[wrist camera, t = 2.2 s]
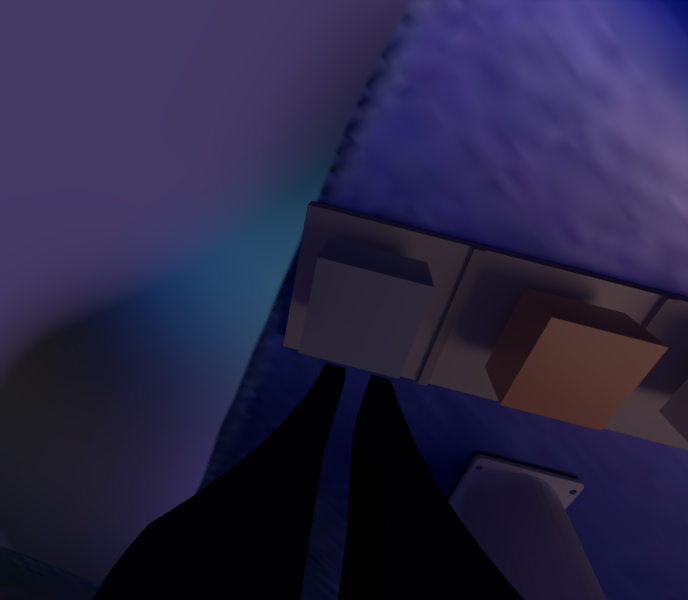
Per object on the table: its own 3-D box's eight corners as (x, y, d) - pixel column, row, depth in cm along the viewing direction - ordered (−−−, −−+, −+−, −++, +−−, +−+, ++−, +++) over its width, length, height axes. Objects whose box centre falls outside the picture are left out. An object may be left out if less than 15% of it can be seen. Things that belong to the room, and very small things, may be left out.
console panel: (702, 444, 22) (719, 461, 21) (287, 337, 23) (281, 348, 21) (820, 331, 18) (848, 344, 17) (311, 200, 18) (306, 205, 17)
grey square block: (397, 344, 19) (399, 378, 17) (310, 321, 19) (298, 352, 17) (427, 262, 17) (434, 287, 14) (328, 236, 17) (317, 257, 14)
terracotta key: (571, 388, 19) (600, 430, 17) (484, 366, 19) (499, 404, 17) (624, 312, 17) (668, 347, 14) (525, 287, 17) (551, 317, 14)
